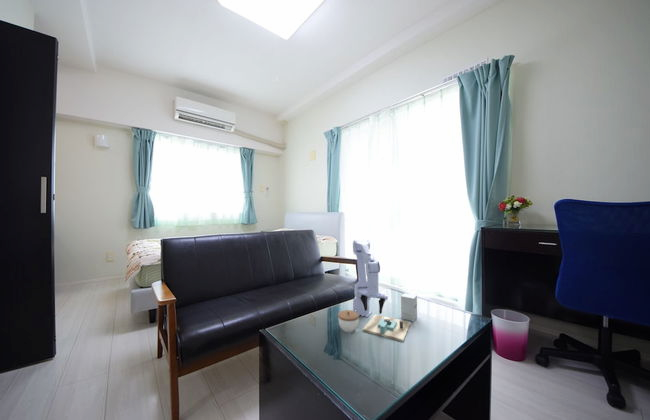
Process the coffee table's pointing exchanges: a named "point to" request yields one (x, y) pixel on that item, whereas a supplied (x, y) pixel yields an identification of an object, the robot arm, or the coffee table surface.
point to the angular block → (384, 325)
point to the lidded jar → (348, 320)
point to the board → (396, 334)
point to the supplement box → (409, 306)
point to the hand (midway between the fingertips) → (373, 311)
